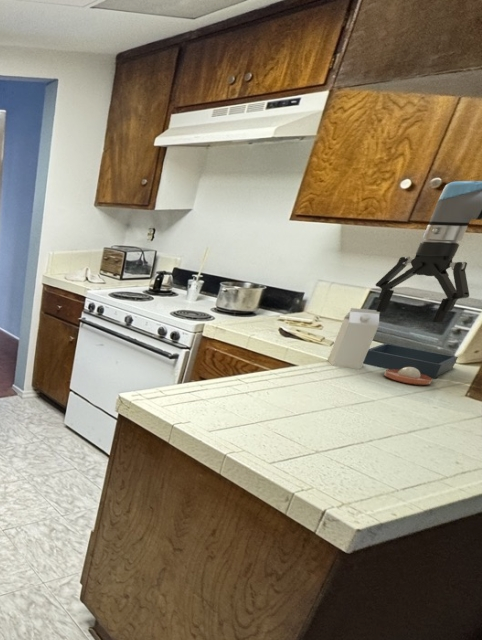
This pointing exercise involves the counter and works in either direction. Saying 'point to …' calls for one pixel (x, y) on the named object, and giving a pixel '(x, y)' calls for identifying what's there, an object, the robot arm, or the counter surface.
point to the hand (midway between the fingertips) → (407, 316)
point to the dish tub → (409, 359)
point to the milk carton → (354, 338)
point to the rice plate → (408, 376)
